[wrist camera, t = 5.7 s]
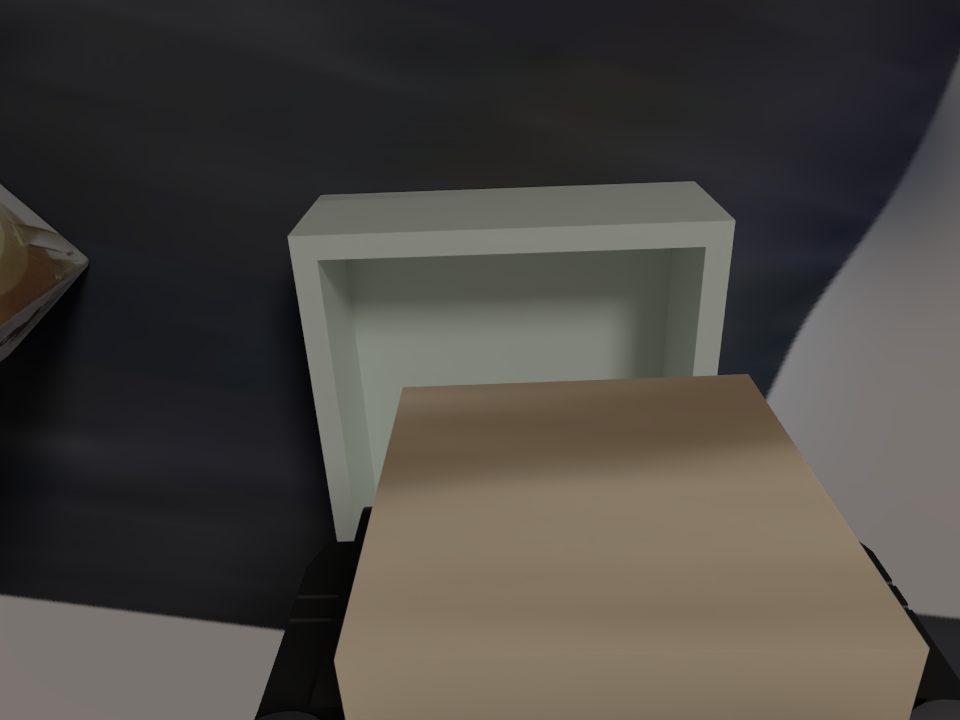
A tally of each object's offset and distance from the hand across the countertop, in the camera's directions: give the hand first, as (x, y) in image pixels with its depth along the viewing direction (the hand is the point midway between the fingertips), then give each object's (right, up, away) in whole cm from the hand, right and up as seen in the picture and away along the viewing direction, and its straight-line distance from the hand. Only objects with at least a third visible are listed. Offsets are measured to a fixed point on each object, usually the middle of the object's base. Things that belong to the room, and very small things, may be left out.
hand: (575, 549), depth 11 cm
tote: (0, +1, +20) cm, 20 cm away
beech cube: (0, 0, +1) cm, 1 cm away
